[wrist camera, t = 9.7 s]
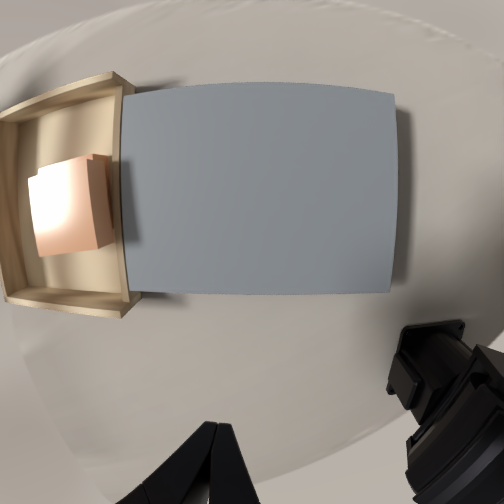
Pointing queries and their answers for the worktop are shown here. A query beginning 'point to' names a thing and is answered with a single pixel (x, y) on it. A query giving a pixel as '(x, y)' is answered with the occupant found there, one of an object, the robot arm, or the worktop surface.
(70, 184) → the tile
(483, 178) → the worktop surface
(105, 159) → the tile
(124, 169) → the slate board
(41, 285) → the tray
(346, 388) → the worktop surface
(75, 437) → the worktop surface
